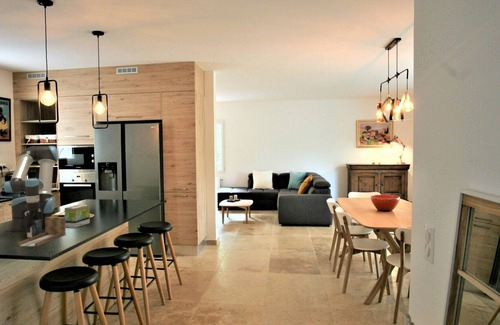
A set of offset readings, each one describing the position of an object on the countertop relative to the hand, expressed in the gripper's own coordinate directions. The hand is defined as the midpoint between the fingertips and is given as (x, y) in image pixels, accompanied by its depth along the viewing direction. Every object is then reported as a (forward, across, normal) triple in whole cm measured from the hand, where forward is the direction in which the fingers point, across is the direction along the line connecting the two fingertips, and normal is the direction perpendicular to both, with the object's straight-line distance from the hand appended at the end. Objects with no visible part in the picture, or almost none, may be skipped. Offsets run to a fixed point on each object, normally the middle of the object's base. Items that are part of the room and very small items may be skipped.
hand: (34, 235), depth 216 cm
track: (0, -10, -13) cm, 16 cm away
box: (0, 0, 0) cm, 0 cm away
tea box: (0, +29, -12) cm, 31 cm away
